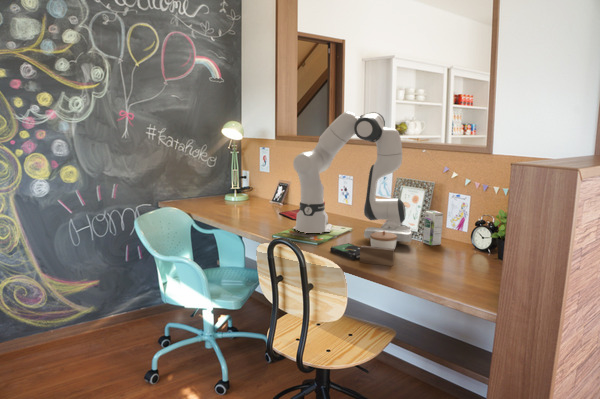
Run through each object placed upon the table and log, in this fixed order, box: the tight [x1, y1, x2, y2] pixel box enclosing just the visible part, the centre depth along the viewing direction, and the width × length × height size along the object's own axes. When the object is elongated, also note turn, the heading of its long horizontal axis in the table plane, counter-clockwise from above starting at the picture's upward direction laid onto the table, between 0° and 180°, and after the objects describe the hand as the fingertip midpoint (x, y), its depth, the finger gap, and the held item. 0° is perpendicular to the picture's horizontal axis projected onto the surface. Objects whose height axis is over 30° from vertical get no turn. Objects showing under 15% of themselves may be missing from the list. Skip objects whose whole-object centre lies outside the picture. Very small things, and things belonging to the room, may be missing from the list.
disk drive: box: [330, 242, 361, 261], centre depth 189 cm, size 10×3×15 cm
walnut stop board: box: [359, 245, 395, 267], centre depth 177 cm, size 2×12×6 cm, turn 71°
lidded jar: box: [369, 231, 398, 250], centre depth 190 cm, size 11×11×9 cm
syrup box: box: [422, 210, 444, 246], centre depth 206 cm, size 6×6×14 cm
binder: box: [278, 208, 300, 221], centre depth 263 cm, size 16×2×21 cm
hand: (385, 238), depth 195 cm, fingers closed
